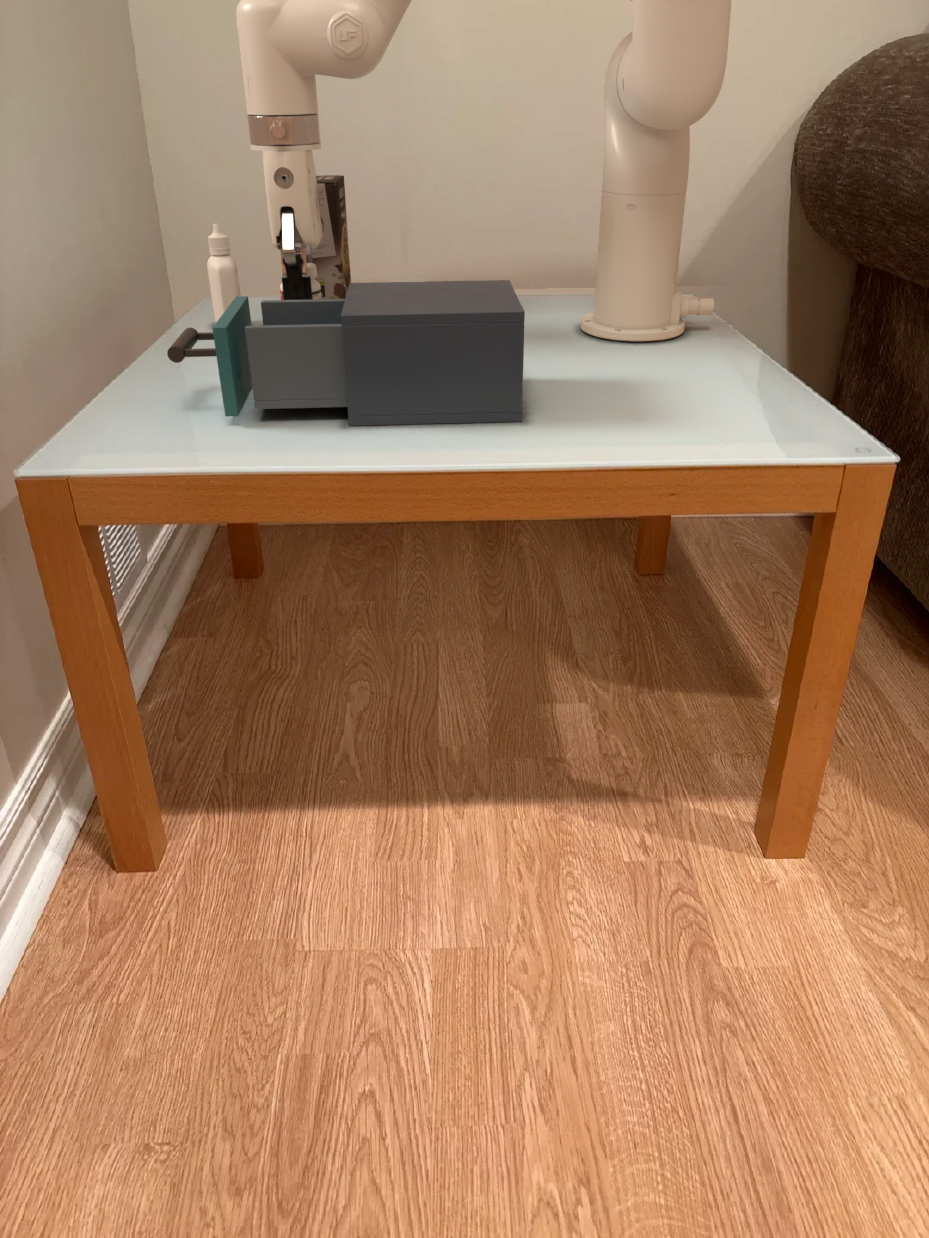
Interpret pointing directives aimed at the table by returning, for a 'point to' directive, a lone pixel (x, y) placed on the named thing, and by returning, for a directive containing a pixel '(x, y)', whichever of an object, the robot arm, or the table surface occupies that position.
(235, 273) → the eye dropper bottle
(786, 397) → the table surface
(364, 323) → the cabinet
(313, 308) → the drawer
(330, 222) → the coffee box
